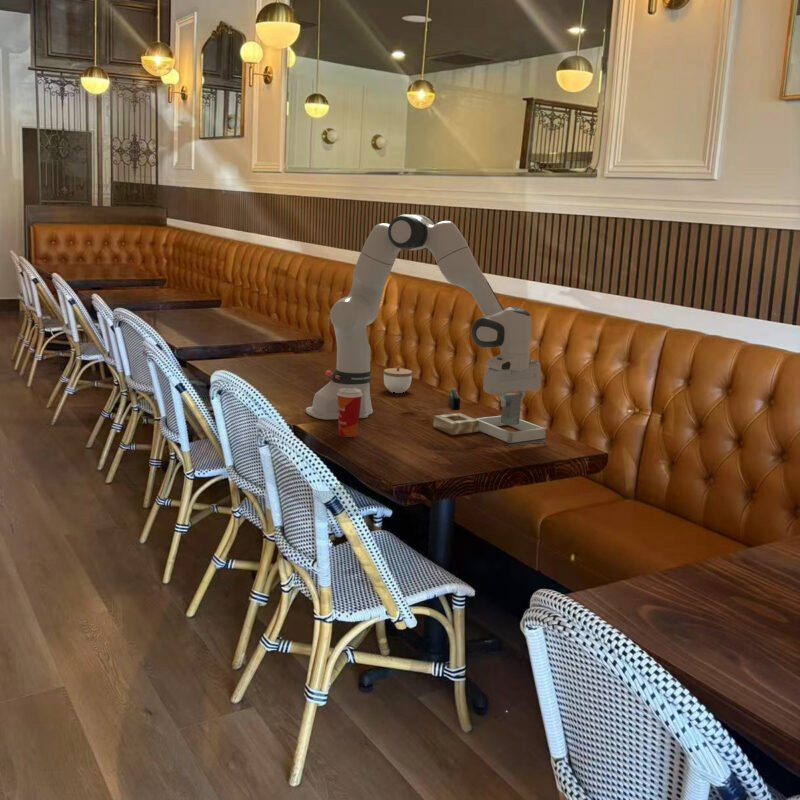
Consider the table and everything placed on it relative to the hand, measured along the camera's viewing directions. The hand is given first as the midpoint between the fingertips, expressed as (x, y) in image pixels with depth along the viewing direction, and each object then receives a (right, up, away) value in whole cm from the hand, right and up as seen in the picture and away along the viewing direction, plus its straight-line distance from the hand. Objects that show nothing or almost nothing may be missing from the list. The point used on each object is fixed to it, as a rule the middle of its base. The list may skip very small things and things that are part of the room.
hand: (511, 405), depth 268 cm
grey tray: (-1, -10, +2) cm, 10 cm away
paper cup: (-50, -9, -4) cm, 51 cm away
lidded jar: (-35, +5, +58) cm, 68 cm away
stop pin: (0, -5, +1) cm, 6 cm away
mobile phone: (-15, -1, +40) cm, 43 cm away
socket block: (-17, -9, +4) cm, 19 cm away
